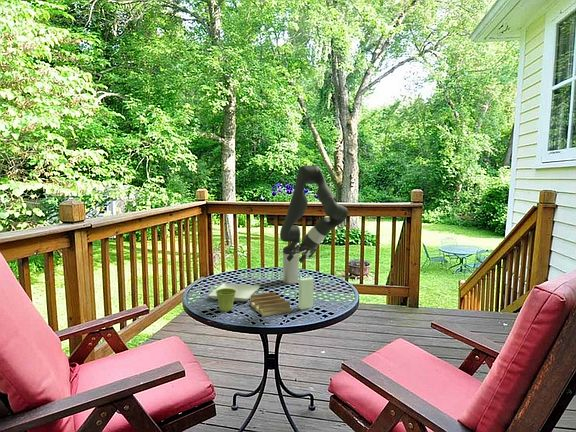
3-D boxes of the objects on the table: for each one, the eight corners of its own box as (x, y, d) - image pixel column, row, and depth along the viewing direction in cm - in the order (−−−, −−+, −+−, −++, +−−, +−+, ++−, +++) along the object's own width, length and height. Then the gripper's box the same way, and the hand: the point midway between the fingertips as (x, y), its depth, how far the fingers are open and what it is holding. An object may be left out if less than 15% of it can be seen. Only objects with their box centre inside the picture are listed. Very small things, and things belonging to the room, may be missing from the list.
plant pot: (237, 305, 181) (237, 288, 180) (235, 313, 172) (235, 294, 171) (217, 305, 181) (217, 288, 180) (214, 313, 172) (214, 294, 171)
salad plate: (248, 304, 184) (248, 297, 184) (207, 301, 188) (207, 294, 188) (260, 291, 205) (260, 285, 204) (223, 288, 209) (223, 282, 208)
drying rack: (249, 304, 184) (249, 295, 183) (275, 300, 190) (276, 291, 189) (262, 316, 169) (262, 306, 168) (291, 311, 175) (291, 302, 174)
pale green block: (298, 307, 180) (298, 278, 178) (310, 305, 183) (310, 277, 181) (301, 309, 177) (301, 280, 176) (313, 307, 180) (313, 278, 179)
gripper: (320, 233, 183) (300, 256, 190) (300, 229, 173) (280, 253, 180) (327, 245, 179) (307, 267, 185) (308, 241, 169) (287, 265, 175)
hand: (294, 260), depth 182 cm, fingers open, 8 cm apart
